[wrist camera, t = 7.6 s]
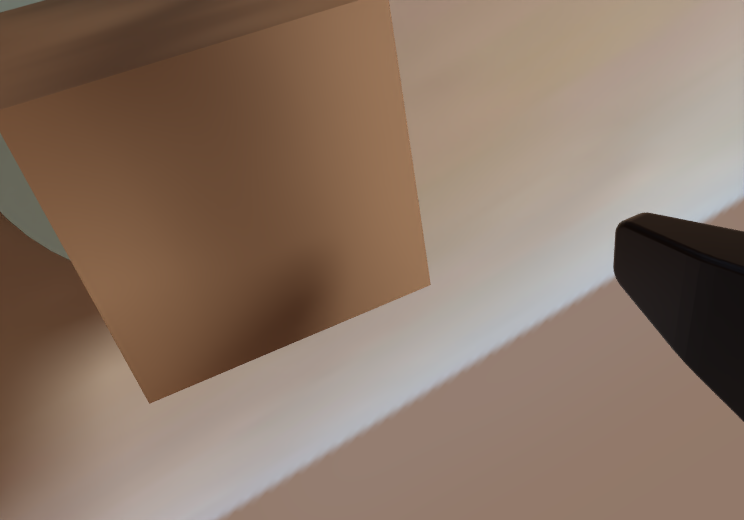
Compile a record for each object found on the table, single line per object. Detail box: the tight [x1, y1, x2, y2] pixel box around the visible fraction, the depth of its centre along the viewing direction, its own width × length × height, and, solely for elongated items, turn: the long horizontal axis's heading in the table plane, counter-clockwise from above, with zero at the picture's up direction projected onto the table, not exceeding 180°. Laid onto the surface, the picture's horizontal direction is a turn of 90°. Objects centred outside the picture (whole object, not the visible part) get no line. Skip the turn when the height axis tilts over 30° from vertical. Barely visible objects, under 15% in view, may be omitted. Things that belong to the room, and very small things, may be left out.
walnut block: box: [0, 0, 431, 404], centre depth 14 cm, size 6×6×6 cm
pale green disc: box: [0, 0, 70, 260], centre depth 16 cm, size 10×10×1 cm
